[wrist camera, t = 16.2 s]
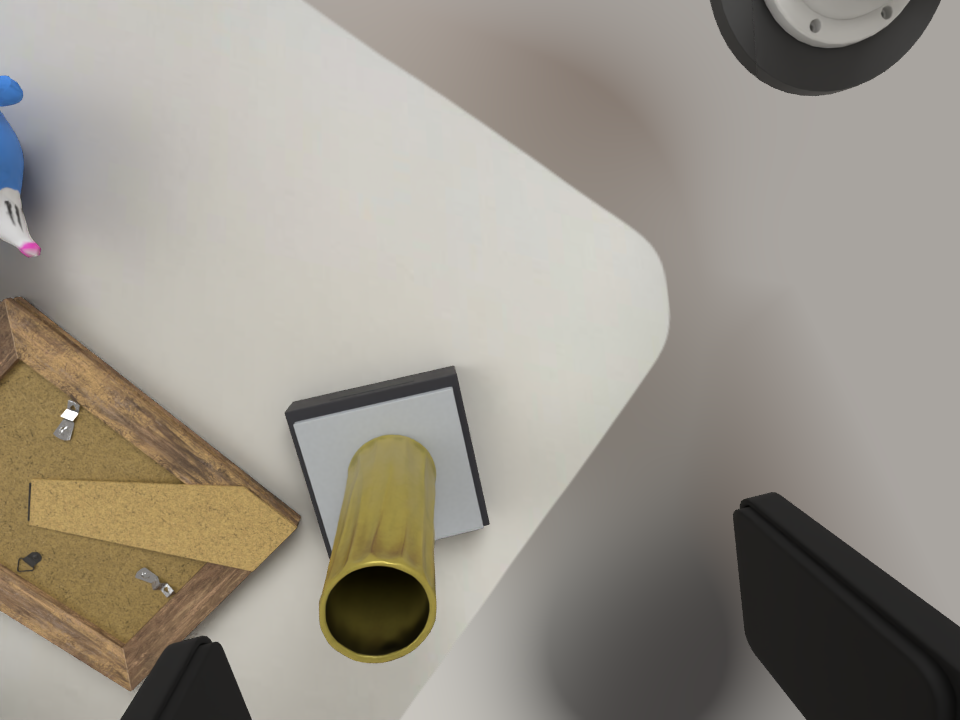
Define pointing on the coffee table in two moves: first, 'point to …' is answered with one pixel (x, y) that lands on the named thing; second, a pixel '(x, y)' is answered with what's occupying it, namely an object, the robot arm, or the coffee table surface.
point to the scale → (390, 411)
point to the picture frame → (113, 506)
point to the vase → (383, 554)
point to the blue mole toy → (12, 177)
